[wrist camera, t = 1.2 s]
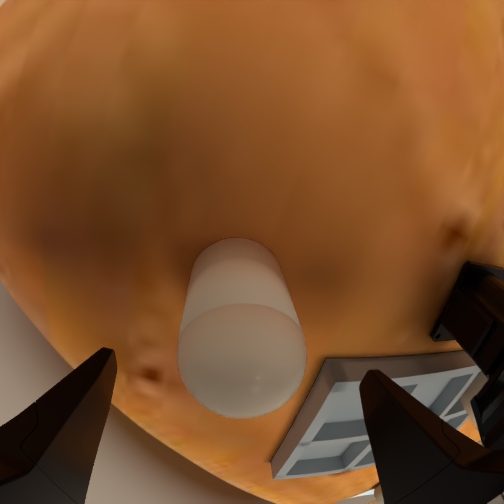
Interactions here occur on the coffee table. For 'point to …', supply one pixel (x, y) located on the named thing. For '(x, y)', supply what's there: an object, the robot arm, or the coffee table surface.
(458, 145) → the coffee table surface
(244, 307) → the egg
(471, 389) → the beige rounded cylinder
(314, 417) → the grey compartment tray
